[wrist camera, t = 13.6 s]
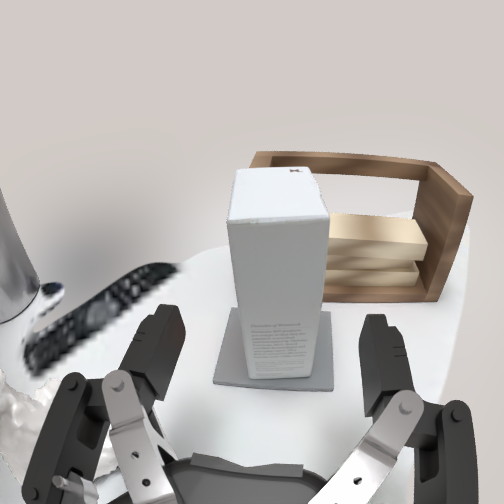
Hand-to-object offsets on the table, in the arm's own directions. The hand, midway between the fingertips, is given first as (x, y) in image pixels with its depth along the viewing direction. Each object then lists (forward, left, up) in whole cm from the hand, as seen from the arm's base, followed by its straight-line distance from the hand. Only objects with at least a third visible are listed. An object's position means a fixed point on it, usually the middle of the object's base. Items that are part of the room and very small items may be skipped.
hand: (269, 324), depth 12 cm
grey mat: (0, +5, -8) cm, 10 cm away
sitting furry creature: (-13, -7, -8) cm, 17 cm away
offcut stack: (+6, +13, -7) cm, 16 cm away
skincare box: (0, +5, -8) cm, 9 cm away
